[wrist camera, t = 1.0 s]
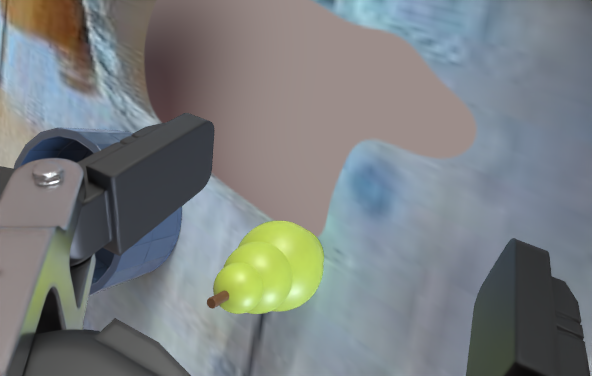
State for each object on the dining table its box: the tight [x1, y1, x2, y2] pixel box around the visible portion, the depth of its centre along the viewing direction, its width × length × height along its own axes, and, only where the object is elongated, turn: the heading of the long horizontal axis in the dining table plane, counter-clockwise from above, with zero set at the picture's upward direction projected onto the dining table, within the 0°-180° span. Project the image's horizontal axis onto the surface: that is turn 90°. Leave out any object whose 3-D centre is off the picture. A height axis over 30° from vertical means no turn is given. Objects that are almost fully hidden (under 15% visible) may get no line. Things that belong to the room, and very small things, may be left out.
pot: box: [14, 128, 182, 296], centre depth 38 cm, size 14×14×6 cm
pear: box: [207, 221, 324, 314], centre depth 28 cm, size 6×6×12 cm
